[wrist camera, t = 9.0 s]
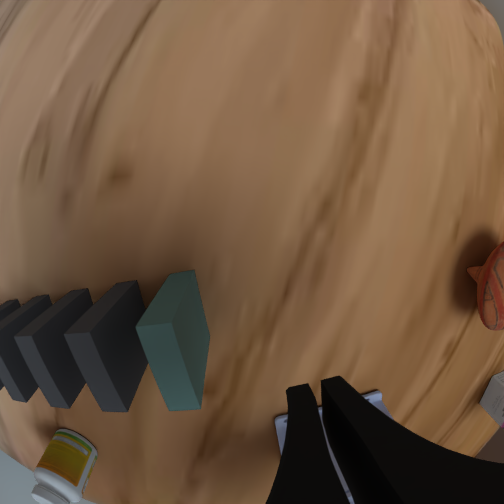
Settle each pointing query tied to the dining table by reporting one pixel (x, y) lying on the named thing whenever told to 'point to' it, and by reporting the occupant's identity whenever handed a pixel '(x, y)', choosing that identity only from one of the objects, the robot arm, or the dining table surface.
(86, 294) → the domino
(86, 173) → the dining table surface
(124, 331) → the domino
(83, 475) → the supplement bottle
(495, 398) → the ink cartridge box
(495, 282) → the pot
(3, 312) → the domino
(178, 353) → the loose domino
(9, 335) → the domino
